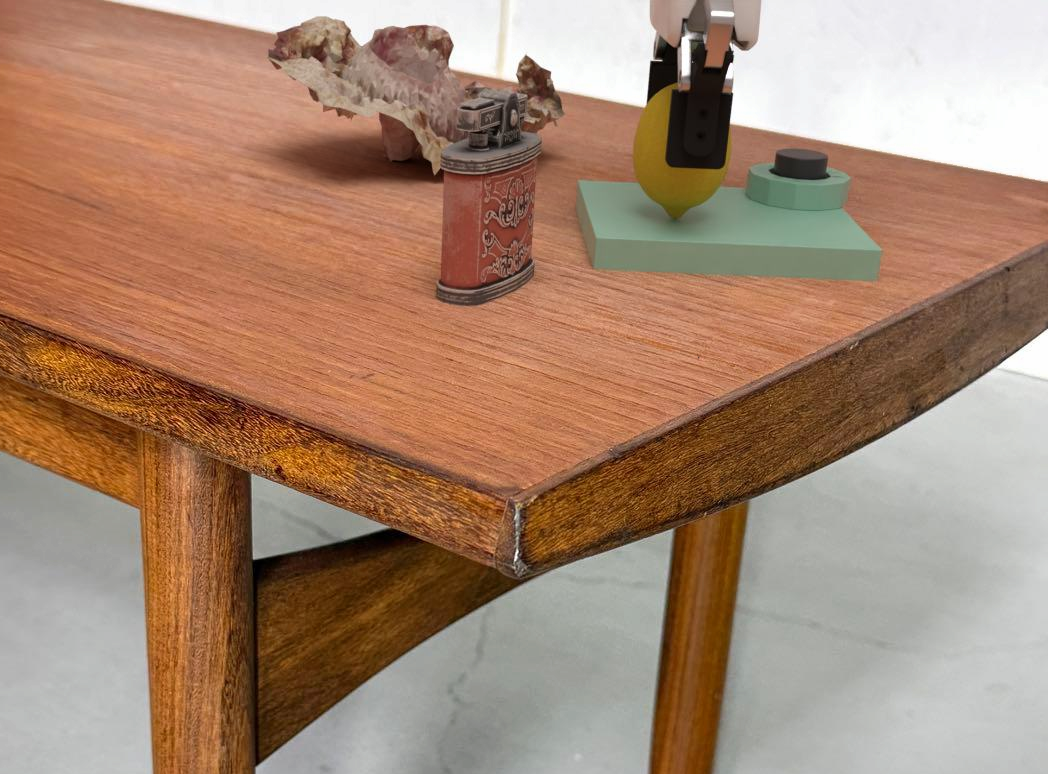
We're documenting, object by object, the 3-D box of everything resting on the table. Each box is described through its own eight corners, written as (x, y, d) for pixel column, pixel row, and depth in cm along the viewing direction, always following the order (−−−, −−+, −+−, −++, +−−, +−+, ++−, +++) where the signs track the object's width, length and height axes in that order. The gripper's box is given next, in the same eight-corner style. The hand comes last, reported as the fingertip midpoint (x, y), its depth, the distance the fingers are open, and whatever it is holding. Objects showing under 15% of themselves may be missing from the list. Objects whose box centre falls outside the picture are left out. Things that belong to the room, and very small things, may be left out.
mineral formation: (291, 176, 94) (355, 34, 89) (220, 62, 104) (274, -70, 100) (564, 255, 108) (632, 136, 103) (477, 147, 118) (535, 35, 113)
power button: (818, 174, 94) (822, 149, 93) (829, 185, 91) (833, 160, 90) (768, 172, 93) (771, 147, 93) (778, 183, 91) (781, 158, 90)
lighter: (491, 264, 82) (500, 78, 78) (547, 274, 81) (559, 86, 77) (421, 300, 76) (426, 99, 71) (480, 311, 75) (489, 108, 70)
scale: (828, 218, 96) (836, 164, 95) (887, 283, 83) (897, 221, 82) (574, 207, 95) (578, 152, 94) (593, 271, 82) (598, 208, 81)
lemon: (670, 202, 90) (684, 65, 86) (742, 222, 86) (759, 80, 83) (607, 214, 86) (619, 71, 83) (679, 235, 83) (694, 87, 79)
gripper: (824, -180, 69) (776, 186, 77) (757, -183, 85) (723, 122, 92) (664, -189, 69) (632, 180, 77) (626, -190, 85) (603, 117, 92)
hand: (682, 148), depth 85 cm, fingers open, 9 cm apart
